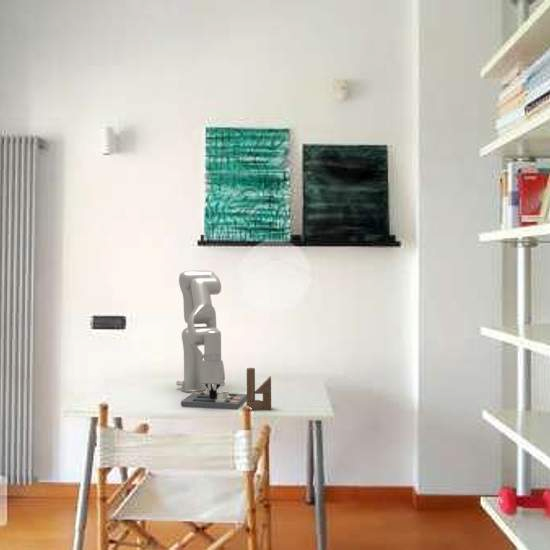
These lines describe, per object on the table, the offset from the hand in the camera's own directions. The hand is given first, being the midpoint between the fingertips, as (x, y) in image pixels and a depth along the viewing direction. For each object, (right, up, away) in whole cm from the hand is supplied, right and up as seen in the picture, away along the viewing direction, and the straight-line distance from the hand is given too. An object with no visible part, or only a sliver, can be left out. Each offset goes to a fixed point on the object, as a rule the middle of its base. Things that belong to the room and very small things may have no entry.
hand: (213, 398), depth 249 cm
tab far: (-3, -2, +13) cm, 13 cm away
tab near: (+3, -2, -1) cm, 4 cm away
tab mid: (+5, -2, +5) cm, 8 cm away
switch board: (0, -3, +6) cm, 7 cm away
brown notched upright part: (+20, -4, -5) cm, 21 cm away
